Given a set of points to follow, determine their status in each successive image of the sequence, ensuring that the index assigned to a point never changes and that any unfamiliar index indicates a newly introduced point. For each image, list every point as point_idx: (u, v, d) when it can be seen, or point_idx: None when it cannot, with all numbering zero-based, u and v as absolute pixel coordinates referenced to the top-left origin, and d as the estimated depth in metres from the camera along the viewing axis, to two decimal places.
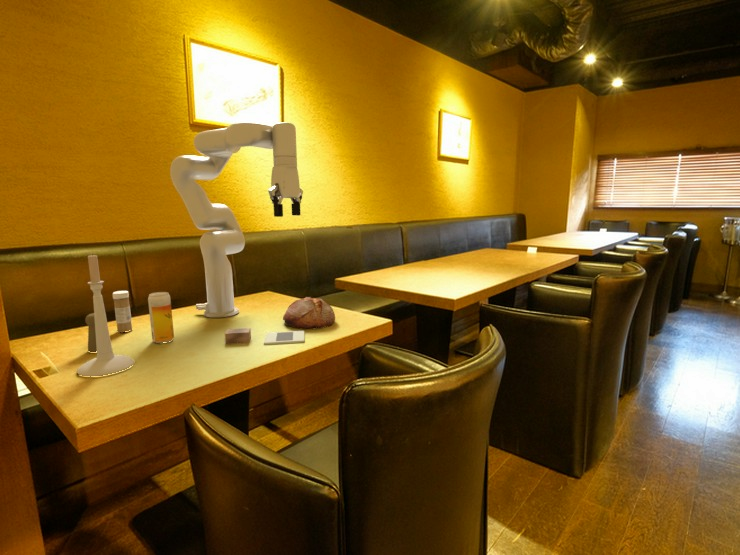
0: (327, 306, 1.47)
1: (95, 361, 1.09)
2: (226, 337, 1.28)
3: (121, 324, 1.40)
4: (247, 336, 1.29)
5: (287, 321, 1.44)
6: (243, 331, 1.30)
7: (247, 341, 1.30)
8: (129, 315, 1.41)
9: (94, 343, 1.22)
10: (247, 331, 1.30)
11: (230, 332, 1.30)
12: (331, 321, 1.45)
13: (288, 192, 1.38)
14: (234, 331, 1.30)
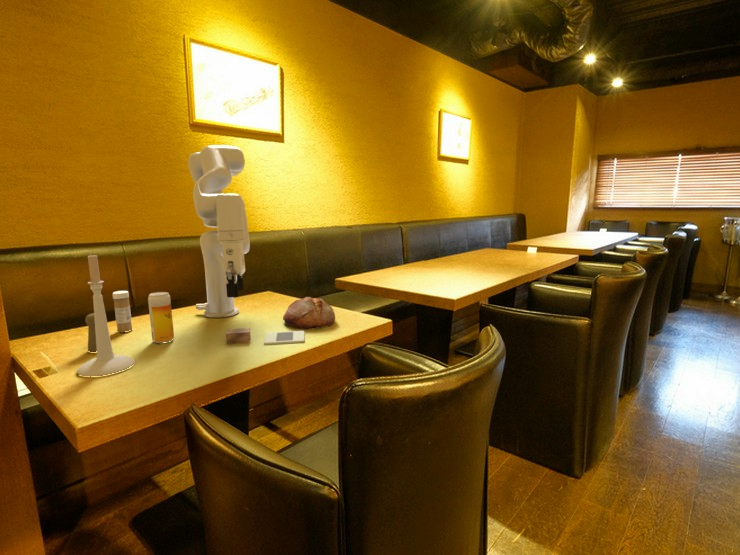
0: (327, 306, 1.47)
1: (95, 361, 1.09)
2: (226, 337, 1.28)
3: (121, 324, 1.40)
4: (248, 336, 1.30)
5: (288, 321, 1.45)
6: (243, 331, 1.30)
7: (248, 341, 1.30)
8: (129, 315, 1.41)
9: (94, 343, 1.22)
10: (247, 331, 1.30)
11: (230, 332, 1.29)
12: (331, 321, 1.45)
13: None
14: (234, 331, 1.30)
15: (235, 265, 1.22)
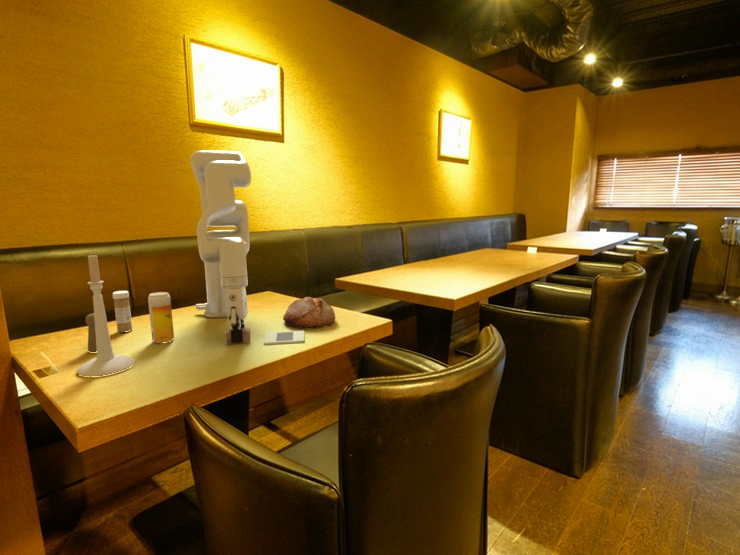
0: (327, 306, 1.47)
1: (95, 361, 1.09)
2: (227, 337, 1.28)
3: (121, 324, 1.40)
4: (248, 335, 1.30)
5: (288, 320, 1.45)
6: (243, 330, 1.30)
7: (248, 340, 1.30)
8: (129, 315, 1.41)
9: (94, 343, 1.22)
10: (247, 330, 1.30)
11: (230, 331, 1.29)
12: (331, 321, 1.45)
13: None
14: None
15: (238, 310, 1.25)
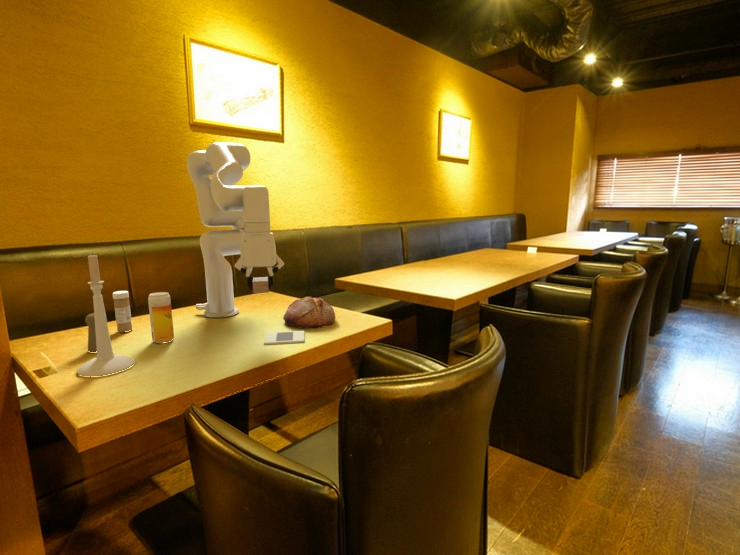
0: (327, 305, 1.47)
1: (95, 361, 1.09)
2: None
3: (121, 324, 1.40)
4: None
5: (288, 320, 1.45)
6: (256, 280, 1.27)
7: (253, 290, 1.26)
8: (129, 315, 1.41)
9: (94, 343, 1.22)
10: (256, 281, 1.26)
11: (256, 278, 1.31)
12: (332, 320, 1.45)
13: None
14: (258, 278, 1.30)
15: None
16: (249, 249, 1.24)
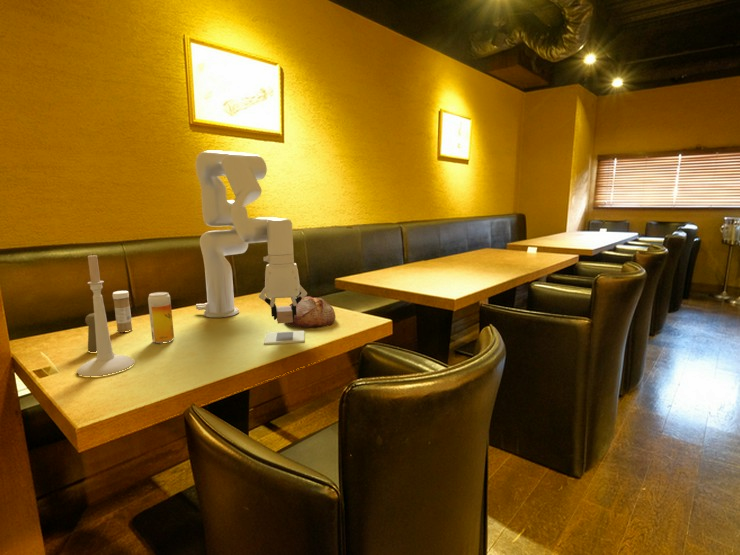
0: (327, 305, 1.48)
1: (95, 361, 1.09)
2: None
3: (121, 324, 1.40)
4: (277, 315, 1.28)
5: None
6: (280, 310, 1.30)
7: (277, 320, 1.29)
8: (129, 315, 1.41)
9: (94, 343, 1.22)
10: (280, 311, 1.28)
11: (280, 307, 1.33)
12: (332, 320, 1.46)
13: None
14: (282, 308, 1.32)
15: (265, 287, 1.28)
16: (274, 280, 1.27)
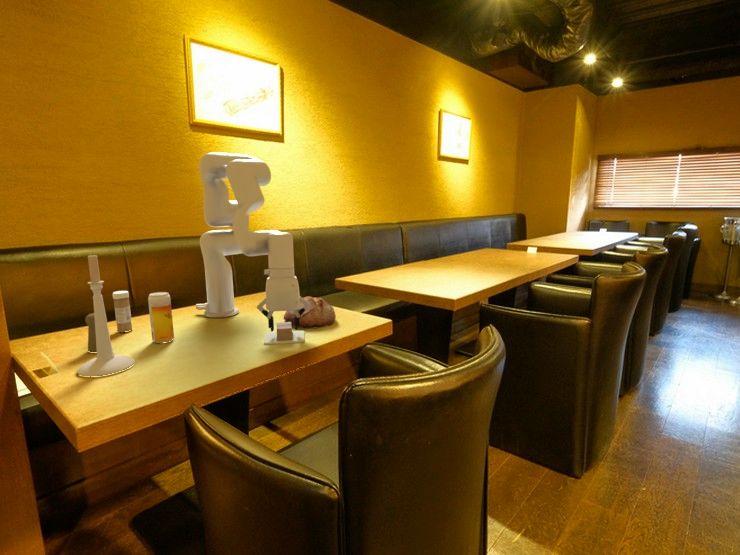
0: (328, 305, 1.48)
1: (95, 361, 1.09)
2: None
3: (121, 324, 1.40)
4: None
5: (288, 320, 1.45)
6: (280, 327, 1.31)
7: (277, 337, 1.30)
8: (129, 315, 1.41)
9: (94, 343, 1.22)
10: (280, 328, 1.30)
11: (280, 323, 1.35)
12: (332, 320, 1.46)
13: None
14: (282, 324, 1.34)
15: (265, 300, 1.29)
16: (274, 294, 1.28)
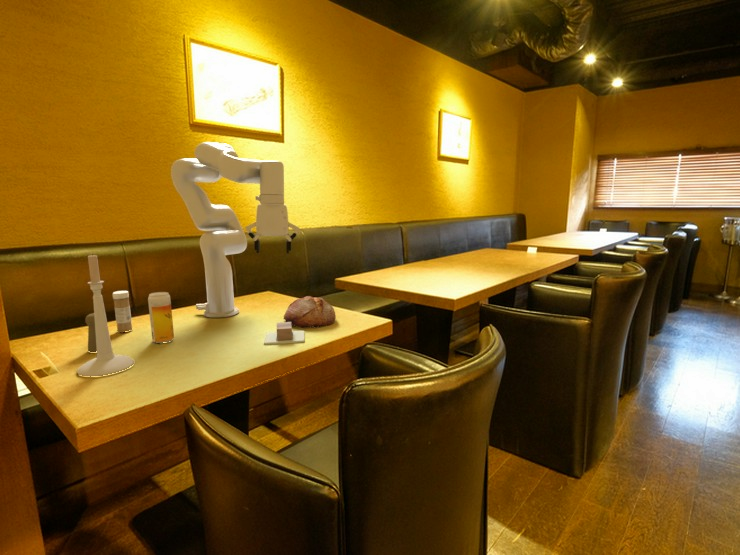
0: (328, 305, 1.48)
1: (95, 361, 1.09)
2: None
3: (121, 324, 1.40)
4: None
5: (289, 320, 1.45)
6: (280, 327, 1.31)
7: (277, 337, 1.30)
8: (129, 315, 1.41)
9: (94, 343, 1.22)
10: (280, 328, 1.30)
11: (280, 323, 1.35)
12: (332, 320, 1.46)
13: None
14: (282, 324, 1.34)
15: (256, 224, 1.37)
16: (264, 219, 1.36)
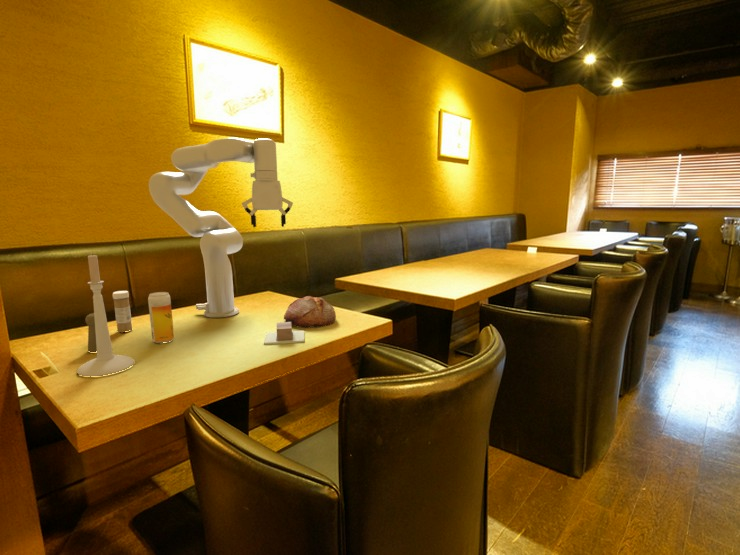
0: (328, 305, 1.48)
1: (95, 361, 1.09)
2: None
3: (121, 324, 1.40)
4: None
5: (289, 320, 1.46)
6: (280, 327, 1.31)
7: (277, 337, 1.30)
8: (129, 315, 1.41)
9: (94, 343, 1.22)
10: (280, 328, 1.30)
11: (280, 323, 1.35)
12: (332, 319, 1.46)
13: None
14: (282, 324, 1.34)
15: (252, 200, 1.46)
16: (259, 194, 1.45)
